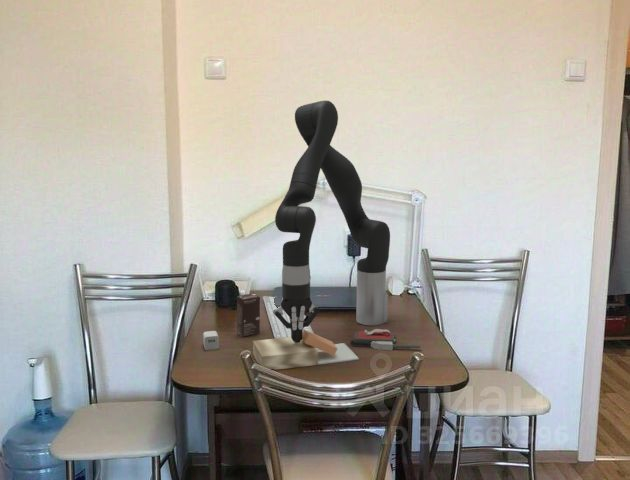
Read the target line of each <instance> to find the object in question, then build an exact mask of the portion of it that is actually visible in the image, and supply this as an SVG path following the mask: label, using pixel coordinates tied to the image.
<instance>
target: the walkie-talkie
mask: <svg viewBox="0 0 630 480" xmlns="http://www.w3.org/2000/svg"><path fill="white" fill-rule="evenodd" d="M353 338H354V340H351V341H350V343H349V344H350V345H352V346H354V347H356V348H357V347H360V348H361V347H363V348H372V349H375V350H377V351H378V350H379V351H393V350H394V349H395V350H396V349H405V350H406V349H407V350H409V349H421V345H419V344H417V345H416V344H398V343H396V342H397V336H396V334H394V332H391V331H390V330H389V329H381V328H375V329H372V330H371V331H368V330H367V329H364V331H354V337H353Z"/></svg>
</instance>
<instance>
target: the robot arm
mask: <svg viewBox="0 0 630 480" xmlns="http://www.w3.org/2000/svg"><path fill="white" fill-rule="evenodd" d="M294 121H295V124H296V128H297V130H298V132H299V134H300V136H301V138H302V139H303V142H305V143H306V145H307V146H308V147H307V148H306V150H305V151H304V152H303V154H301V156H300V157H299V160H298V161H297V162H296V164H295V166H294V169H293V171H292V175H291V177H290V178H291V179H290V183H289V187H288V190H287V192H286V194H285V196H284V198H283V200H281V203H280V205H279V206H278V208H277V211H276V213H275V218H274V223H275V227H276V228H277V229H278V231H280V232H282V233H291V234H299V237H298V239H295V240H290V241H286V242H284V243H283V245H282V268H281V269H282V270H281V285H282V286H281V288H282V289H281V290H282V292H281V293H282V294H281V297H282V302H281V306H280V307H279V308H278V309H277V310H276V309H275V310H274V311H273V313H274V314H275V315H276V317H277V318H278V319H279V320H280V321H281V322H282V323H283V325H284V326H285V327H286V328H287V329H291V338H292V340H293V341H294V342H295V343H299V342H300V340H302V330H303V328H304V327H308V326H309V325H310V326H311V323H312V322H313V321H314V319H315V318H316V317H317V315H318V314H319V312H320V311H321V310H320V308H319V307H318V306H316V305H315V304H313V301H312V299H311V277H312V276H311V269H310V246H311V241H312V237H313V233H314V230H315V226H316V223H317V217H316V212H315V211H314V209H313V208H311V207H310V206H300V205H302V204H307V203H309V202H312V201H313V200H314V197H315V194H316V190H317V185H318V181H319V176H320V172H321V171H322V174H323V175H324V178H325V179H326V182H327V184H328V186H329V187H330V190H331V192H332V194H333V195H334V197H335V200H336V201H337V204H338V206H339V209H340V210H341V212H342V215H343V217H344V219H345V221H346V224H347V227H348V230H349V233H350V235H351V238H352V240H353V241H354V243H355V244H356V245H357V246H358V247H360V248H365V249H367V252H366V253H367V254H366V257H363V258H361V259H359V260H358V261H357V263H356V307H355V308H356V311H355V313H356V315H355V316H356V319H355V321H356V322H357V323H358V324H360V325H364V326H379V325H383V324H385V323H388V305H389V304H388V303H389V300H388V297H389V295H388V293H387V292H386V281H387V280H386V278H387V277H386V276H387V273H386V272H387V265H388V262H389V257H390V244H391V230H390V227H389V226H388V224H387V223H386V222H384V221H382V220H376V219H371V218H369V217H368V215H367V214H366V212H365V210H364V208H363V206H362V202H361V201H362V194H363V193H362V192H363V183H362V180H361V178H360V176H359V173H358V172H357V169H356V167H355V165H354V164H353V162H351V161H350V160H349V159H348V158H347V157H346V156H345V155H343V154H342V153H341V152H339V151H338V150H336V148H334V147H333V146H332V145H331V142H332V140H333V138H334V136H335V133H336V130H337V128H338V123H339V113H338V109H337V108H336V106H335V104H334V103H333V102H332V101H330V100H320V101H316V102H311V103H307V104H303V105H300V106H298V107H297V108H296V109H295V112H294ZM283 310H284V311H285V312H286V314H287V315H288V316H289V319H290V323H289V322H287V321H286V320H285V319H284V317H283ZM308 311H309V312H308ZM306 314H307V315H306ZM304 315H305V316H306V317H305V319H304ZM296 318H297V319H296Z"/></svg>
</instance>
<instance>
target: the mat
mask: <svg viewBox="0 0 630 480" xmlns="http://www.w3.org/2000/svg"><path fill="white" fill-rule="evenodd" d="M333 344H334V345H335V346H336V347H337V351H336V353H335V354H334V356H333V355H331V354H329V353H326V352H324V351H322V350H320V349H317V348H316V349H317V350H318V365H326V364H334V363H335V364H336V363H342V362H350V361H357V360H360V359H359V356H357V355H356V354H355V352H353V350H352V349H350V347H348V345H346V343H345V342H344V343H343V342H342V343H341V342H340V343H333Z"/></svg>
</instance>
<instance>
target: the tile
mask: <svg viewBox="0 0 630 480" xmlns="http://www.w3.org/2000/svg"><path fill="white" fill-rule="evenodd" d="M302 339H303V341H304V342H305V343H306V344H308V345H310V346H313V347H315V348H317V349H320V350H322V351H324V352H326V353H329V354H331V355H333V356H334V354H335V353H336V351H337V347H336V346H335V345H334V344H335V343H334V342H333V341H332V340H329V339H327V338H325V337H322V336H320V335H318V334H315V333H314V332H313V333H311V332H309V331H307V330H305V329H304V330H303V332H302Z"/></svg>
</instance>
